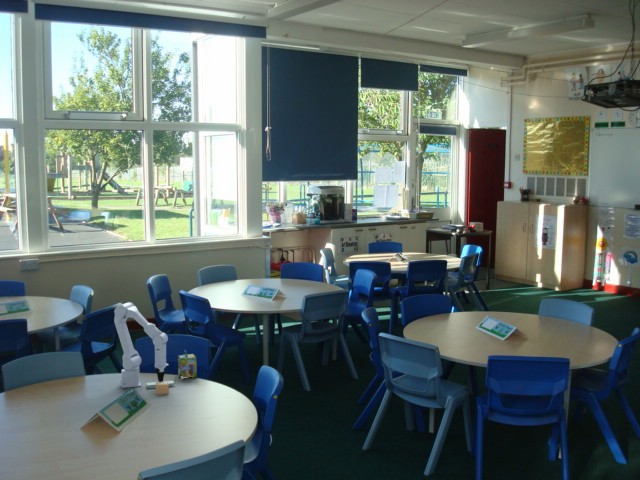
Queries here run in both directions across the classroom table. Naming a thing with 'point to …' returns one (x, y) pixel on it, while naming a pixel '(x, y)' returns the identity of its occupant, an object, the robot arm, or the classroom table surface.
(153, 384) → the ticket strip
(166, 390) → the stub
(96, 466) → the classroom table surface
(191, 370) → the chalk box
